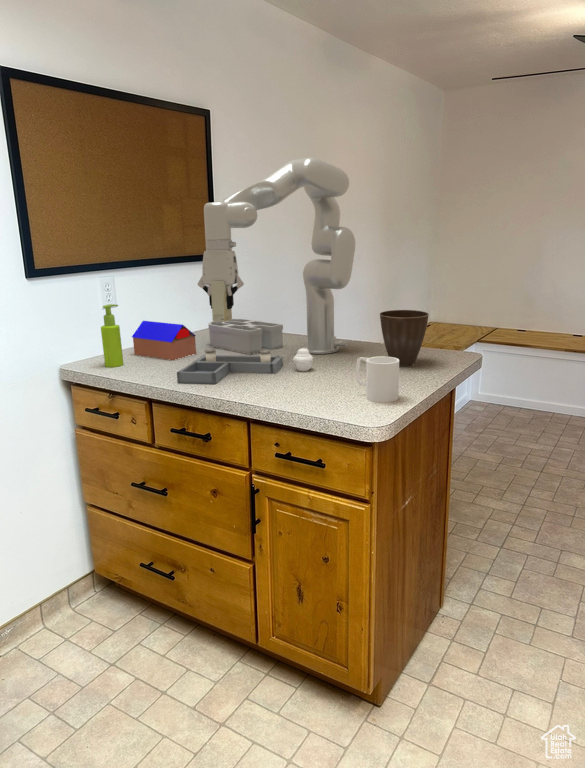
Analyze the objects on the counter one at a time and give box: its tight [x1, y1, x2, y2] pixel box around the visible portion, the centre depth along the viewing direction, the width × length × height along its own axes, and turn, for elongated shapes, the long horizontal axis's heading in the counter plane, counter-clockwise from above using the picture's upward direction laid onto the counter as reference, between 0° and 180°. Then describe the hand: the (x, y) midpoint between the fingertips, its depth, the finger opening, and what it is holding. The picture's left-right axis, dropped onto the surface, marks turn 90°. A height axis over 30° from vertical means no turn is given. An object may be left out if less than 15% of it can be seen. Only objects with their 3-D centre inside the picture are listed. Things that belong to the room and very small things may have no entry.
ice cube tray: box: [208, 318, 284, 355], centre depth 219 cm, size 17×28×9 cm, turn 46°
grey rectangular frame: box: [192, 354, 284, 374], centre depth 186 cm, size 27×10×3 cm, turn 78°
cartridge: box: [259, 348, 272, 363], centre depth 184 cm, size 3×3×6 cm
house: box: [131, 320, 197, 361], centre depth 208 cm, size 12×20×12 cm, turn 55°
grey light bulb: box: [204, 347, 217, 361], centre depth 188 cm, size 3×3×6 cm
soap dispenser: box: [100, 303, 124, 368], centre depth 193 cm, size 6×7×20 cm
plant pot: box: [379, 309, 430, 367], centre depth 184 cm, size 15×15×16 cm
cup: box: [355, 355, 400, 404], centre depth 152 cm, size 8×12×10 cm
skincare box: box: [211, 281, 233, 322], centre depth 177 cm, size 6×4×12 cm
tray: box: [176, 361, 231, 385], centre depth 176 cm, size 12×14×3 cm
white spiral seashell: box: [292, 347, 314, 372], centre depth 181 cm, size 6×6×7 cm
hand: (221, 307), depth 177 cm, fingers closed on skincare box, 4 cm apart
